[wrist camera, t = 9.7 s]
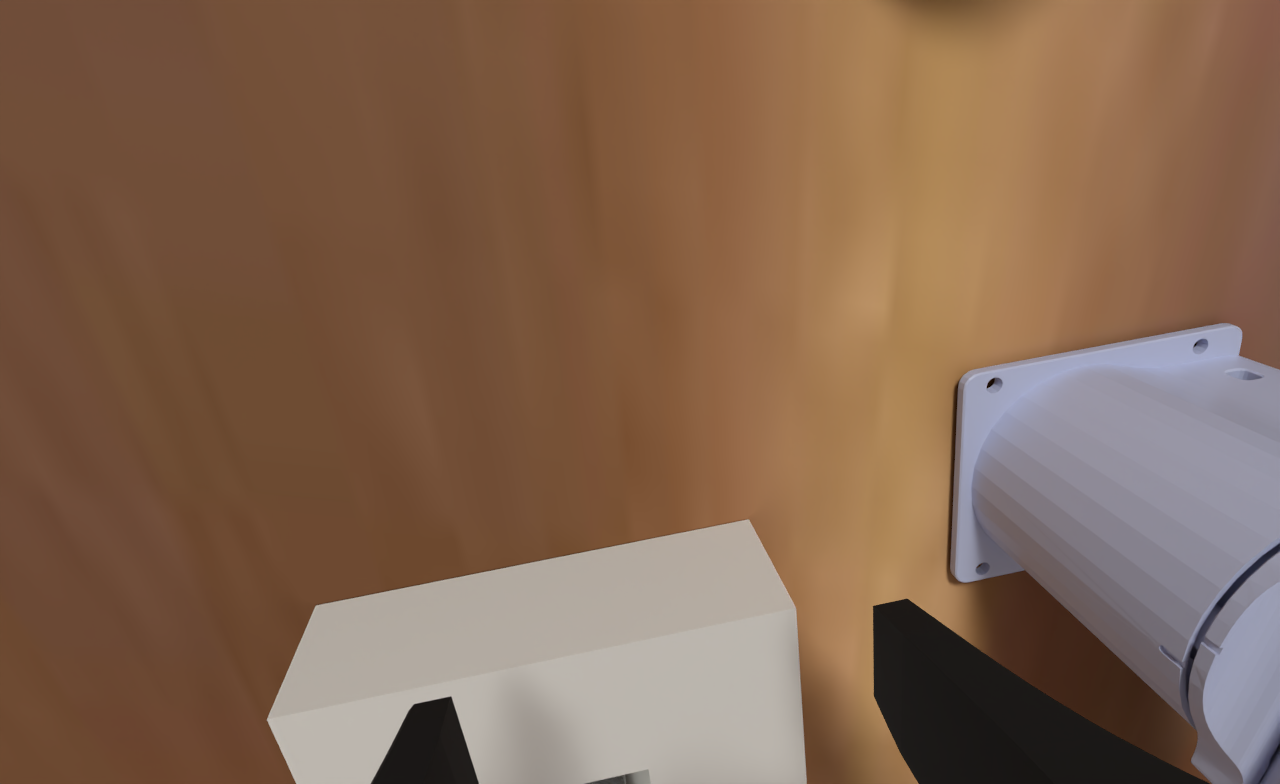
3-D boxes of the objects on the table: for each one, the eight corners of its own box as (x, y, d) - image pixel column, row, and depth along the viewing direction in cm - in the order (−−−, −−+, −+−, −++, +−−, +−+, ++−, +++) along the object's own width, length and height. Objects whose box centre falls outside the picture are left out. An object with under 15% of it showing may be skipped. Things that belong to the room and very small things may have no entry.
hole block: (748, 519, 23) (796, 608, 19) (774, 810, 29) (815, 928, 25) (315, 605, 22) (267, 719, 18) (427, 891, 28) (409, 1030, 23)
